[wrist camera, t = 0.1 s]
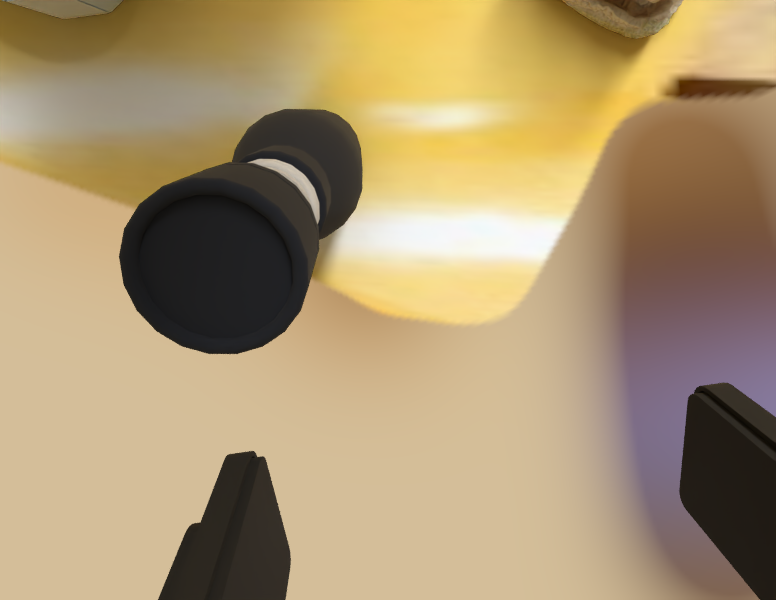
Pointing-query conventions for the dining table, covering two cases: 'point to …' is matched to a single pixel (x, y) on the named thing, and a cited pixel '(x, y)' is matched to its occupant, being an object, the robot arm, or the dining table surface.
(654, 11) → the ceramic model
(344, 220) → the black water bottle
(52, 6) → the bowl
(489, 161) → the dining table surface
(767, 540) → the robot arm
